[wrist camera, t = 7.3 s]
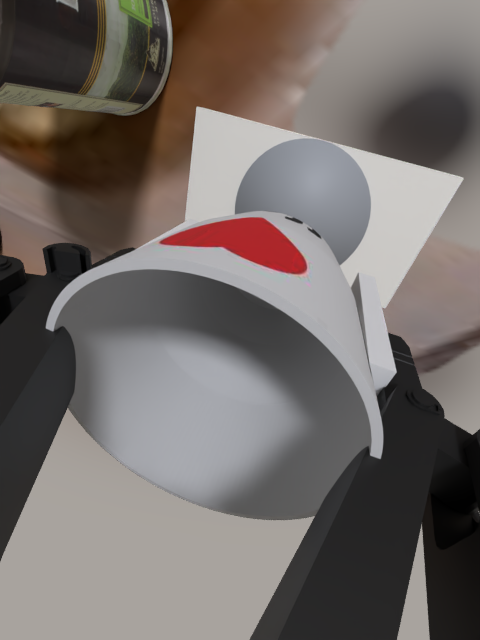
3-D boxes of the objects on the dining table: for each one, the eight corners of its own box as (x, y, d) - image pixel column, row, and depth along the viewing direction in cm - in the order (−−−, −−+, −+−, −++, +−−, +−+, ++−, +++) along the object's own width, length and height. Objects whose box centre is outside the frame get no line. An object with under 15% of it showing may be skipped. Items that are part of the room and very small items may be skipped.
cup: (398, 266, 13) (486, 470, 5) (279, 356, 18) (228, 540, 10) (264, 137, 12) (111, 141, 4) (174, 268, 17) (18, 394, 9)
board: (187, 238, 30) (181, 243, 29) (202, 107, 23) (195, 106, 22) (383, 302, 28) (385, 309, 26) (458, 176, 21) (465, 178, 20)
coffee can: (122, -117, 18) (-235, -526, 7) (196, 73, 22) (47, 11, 11) (29, -3, 23) (-281, -140, 11) (105, 138, 27) (-68, 142, 15)
